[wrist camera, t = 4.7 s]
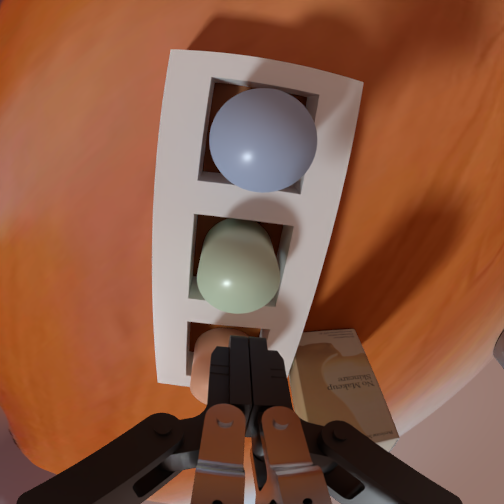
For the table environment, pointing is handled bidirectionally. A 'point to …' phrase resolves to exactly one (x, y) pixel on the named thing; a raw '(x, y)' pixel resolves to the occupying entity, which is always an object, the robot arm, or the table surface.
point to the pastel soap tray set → (241, 201)
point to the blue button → (263, 140)
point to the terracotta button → (207, 358)
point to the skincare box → (339, 385)
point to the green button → (238, 267)
